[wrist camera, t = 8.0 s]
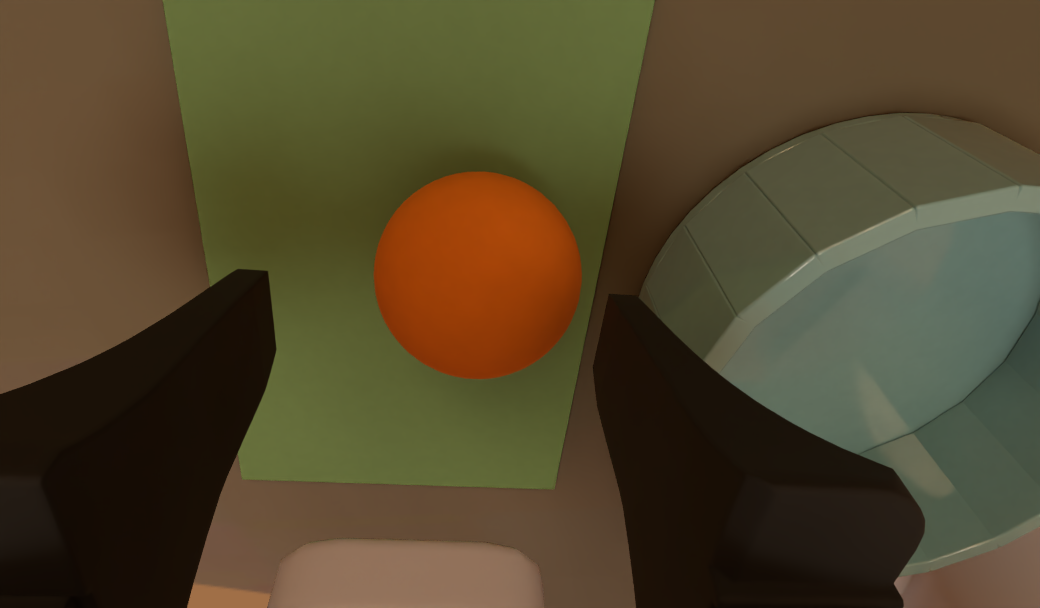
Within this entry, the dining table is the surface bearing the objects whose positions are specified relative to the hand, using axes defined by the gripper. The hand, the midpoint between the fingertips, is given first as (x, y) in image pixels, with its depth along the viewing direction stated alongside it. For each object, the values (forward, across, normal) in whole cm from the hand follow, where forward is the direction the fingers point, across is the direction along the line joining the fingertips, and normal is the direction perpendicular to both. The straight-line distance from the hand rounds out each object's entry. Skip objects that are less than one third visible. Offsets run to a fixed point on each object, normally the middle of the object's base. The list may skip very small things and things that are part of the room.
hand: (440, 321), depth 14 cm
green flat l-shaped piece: (+5, +1, -1) cm, 5 cm away
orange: (+2, -1, 0) cm, 2 cm away
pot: (+5, -12, +2) cm, 14 cm away
